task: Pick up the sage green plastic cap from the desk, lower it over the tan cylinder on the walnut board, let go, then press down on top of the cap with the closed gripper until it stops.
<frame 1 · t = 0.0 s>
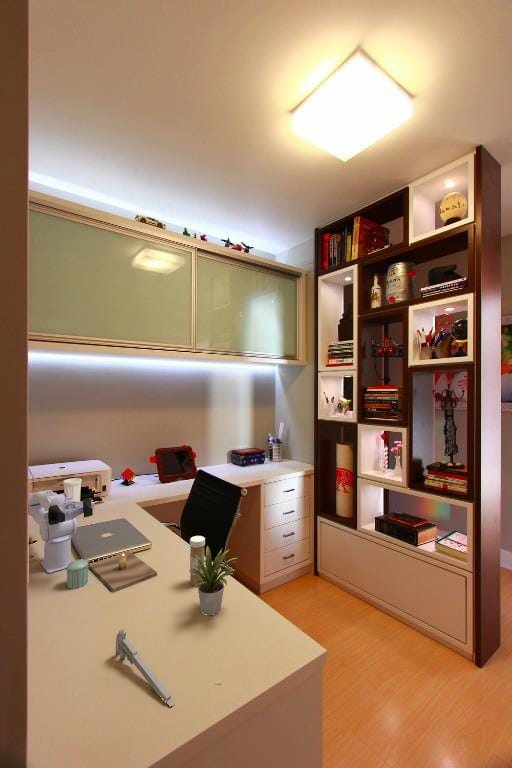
hand: (78, 515, 108), 22 cm above the table, tool horizontal, fingers open, 7 cm apart
caliper: (142, 680, 75), on the table
house plant: (210, 613, 96), on the table
cup: (72, 510, 176), on the table
walnut board: (122, 571, 118), on the table
sprinkles bottle: (197, 583, 111), on the table
cap: (77, 583, 110), on the table
tan cylinder: (122, 560, 118), on the walnut board, point 3 cm above the table
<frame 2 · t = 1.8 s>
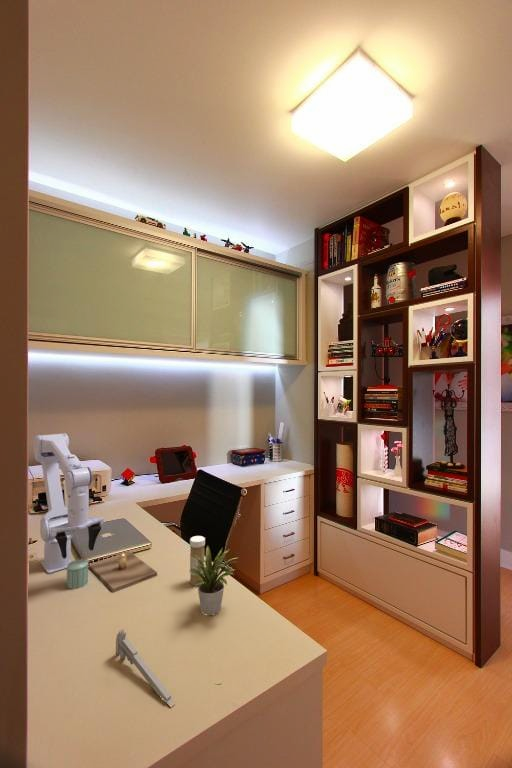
hand: (77, 553, 110), 9 cm above the table, tool pointing down, fingers open, 7 cm apart
nothing on the table moved.
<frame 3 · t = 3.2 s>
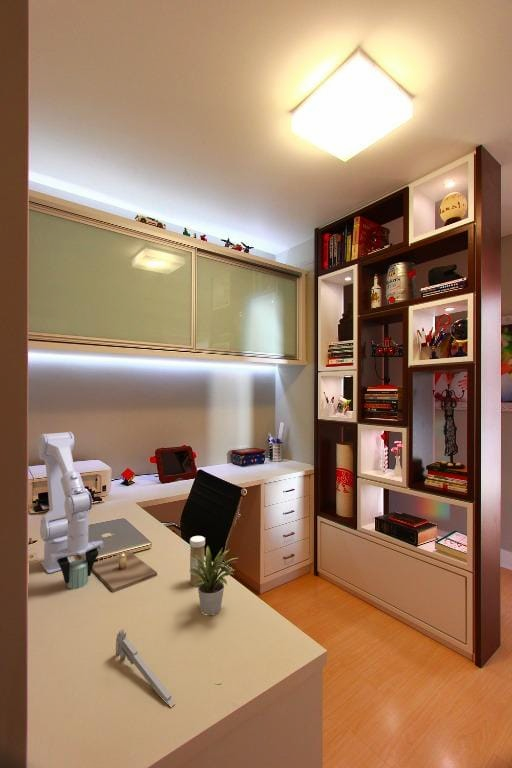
hand: (77, 578, 110), 2 cm above the table, tool pointing down, fingers closed on cap, 6 cm apart
cap: (77, 583, 110), on the table, touching gripper
everything else where it was.
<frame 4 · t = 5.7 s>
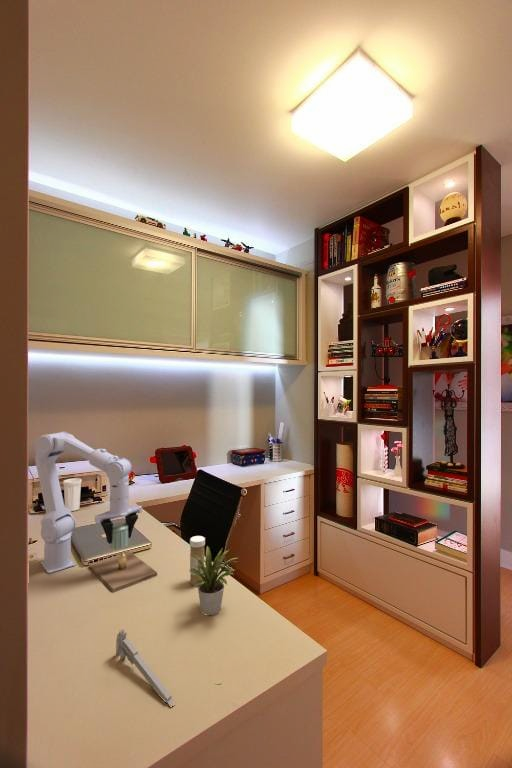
hand: (119, 539, 117), 10 cm above the table, tool pointing down, fingers closed on cap, 6 cm apart
cap: (119, 544, 117), point 9 cm above the table, touching gripper
everything else where it was.
when the fingers open (4 cm above the table, at t = 8.3 s): cap drops 1 cm, resting on walnut board.
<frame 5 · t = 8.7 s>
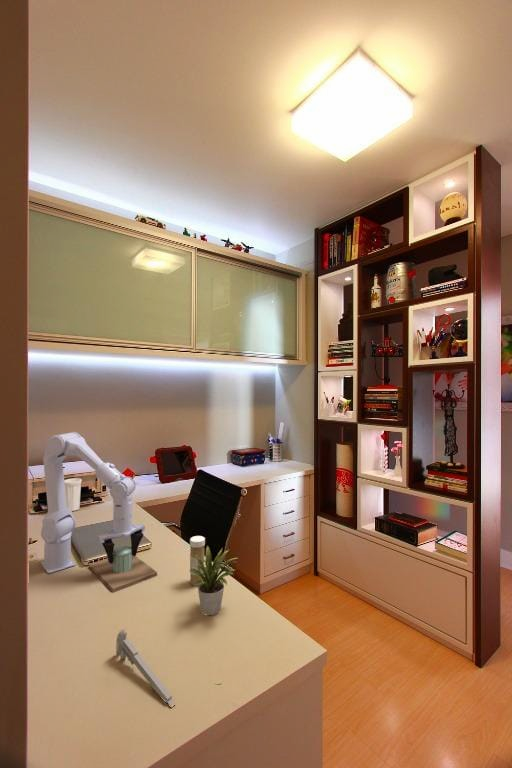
hand: (122, 558, 118), 4 cm above the table, tool pointing down, fingers open, 7 cm apart
cap: (122, 568, 118), point 1 cm above the table, touching walnut board
everything else where it was.
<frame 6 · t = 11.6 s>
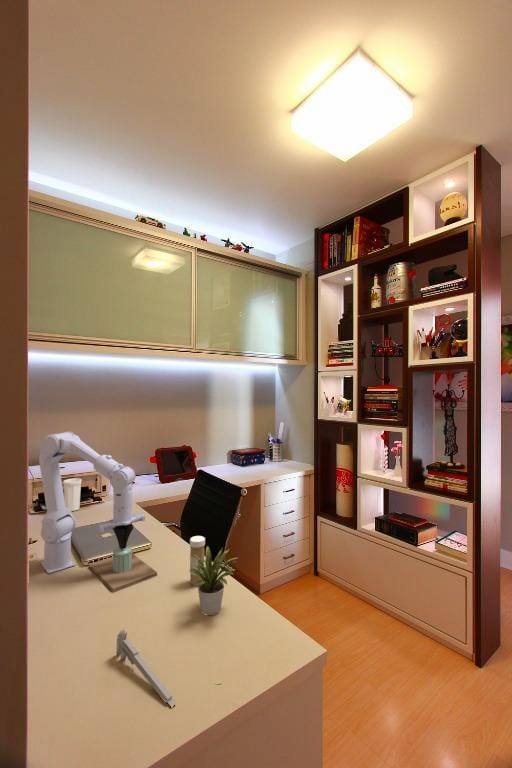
hand: (122, 547, 118), 8 cm above the table, tool pointing down, fingers closed
nothing on the table moved.
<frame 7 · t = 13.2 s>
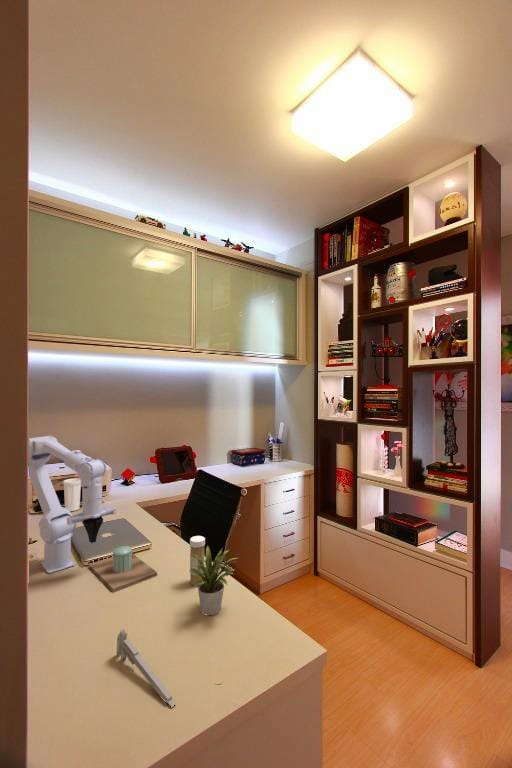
hand: (92, 541, 116), 10 cm above the table, tool pointing down, fingers closed
nothing on the table moved.
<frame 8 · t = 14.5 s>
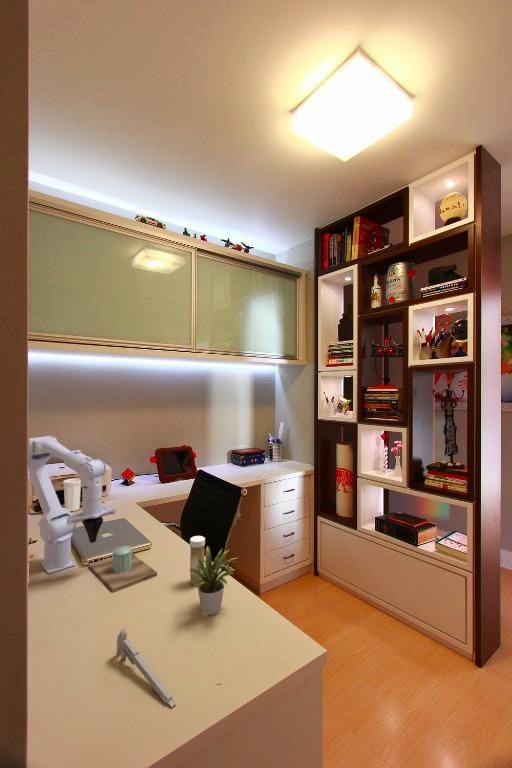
hand: (92, 541, 116), 10 cm above the table, tool pointing down, fingers closed
nothing on the table moved.
at the end: cap 0.1 cm off-centre on the tan cylinder, point 1.0 cm above the tan cylinder's base; cap tilted 0°; the gripper is holding nothing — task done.
